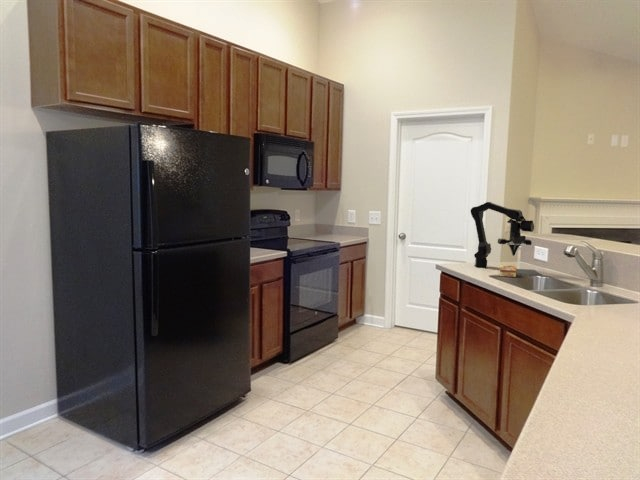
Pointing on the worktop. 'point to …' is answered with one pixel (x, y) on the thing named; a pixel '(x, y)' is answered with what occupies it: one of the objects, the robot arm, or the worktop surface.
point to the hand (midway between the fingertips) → (513, 255)
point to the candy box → (508, 271)
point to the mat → (527, 272)
